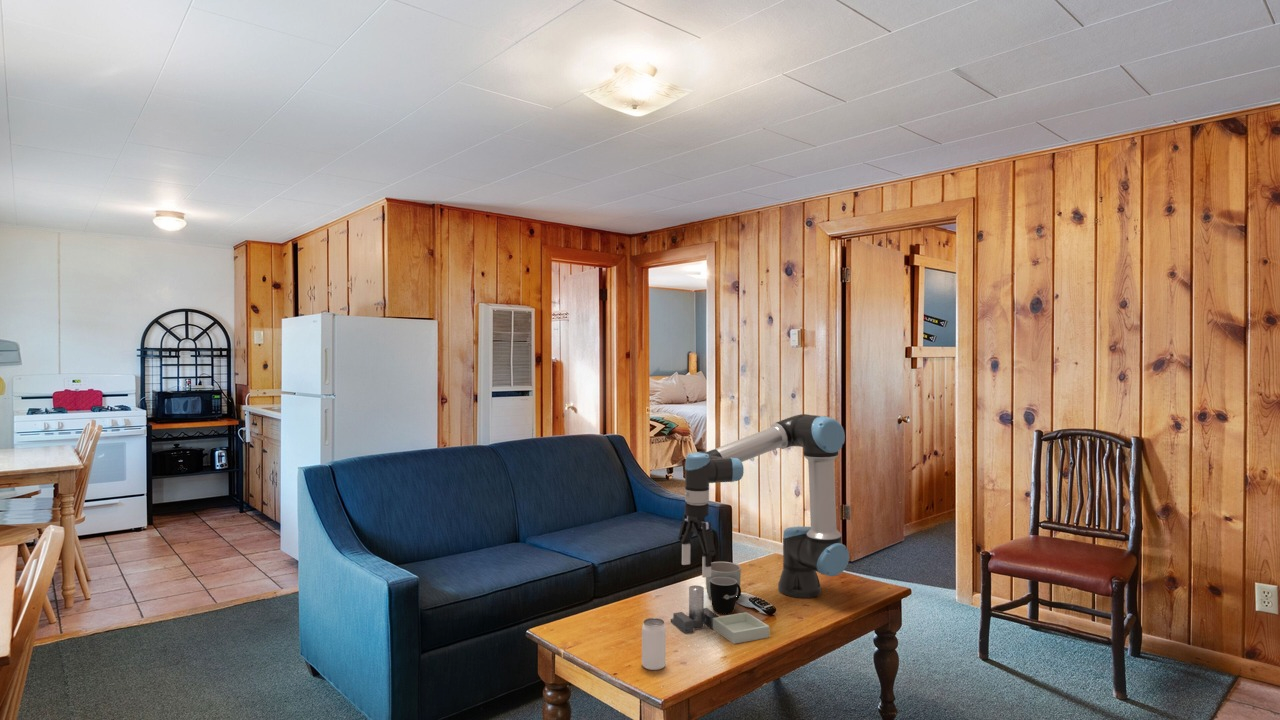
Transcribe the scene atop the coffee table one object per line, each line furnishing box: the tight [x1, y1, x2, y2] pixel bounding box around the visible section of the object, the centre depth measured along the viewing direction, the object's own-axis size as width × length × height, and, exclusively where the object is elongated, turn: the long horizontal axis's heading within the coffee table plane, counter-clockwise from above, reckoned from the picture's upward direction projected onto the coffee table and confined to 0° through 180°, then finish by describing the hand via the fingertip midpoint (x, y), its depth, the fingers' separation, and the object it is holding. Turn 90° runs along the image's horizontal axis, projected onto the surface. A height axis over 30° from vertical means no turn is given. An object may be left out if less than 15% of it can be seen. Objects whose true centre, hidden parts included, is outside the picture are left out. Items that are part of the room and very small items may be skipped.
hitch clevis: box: [670, 607, 720, 634], centre depth 216 cm, size 12×10×4 cm
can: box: [641, 617, 667, 671], centre depth 188 cm, size 6×6×12 cm
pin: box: [688, 584, 705, 630], centre depth 216 cm, size 5×5×12 cm
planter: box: [705, 561, 742, 599], centre depth 241 cm, size 12×12×11 cm
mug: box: [710, 577, 742, 615], centre depth 229 cm, size 12×9×10 cm
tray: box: [712, 611, 770, 645], centre depth 210 cm, size 13×13×3 cm
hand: (695, 570), depth 215 cm, fingers open, 13 cm apart
